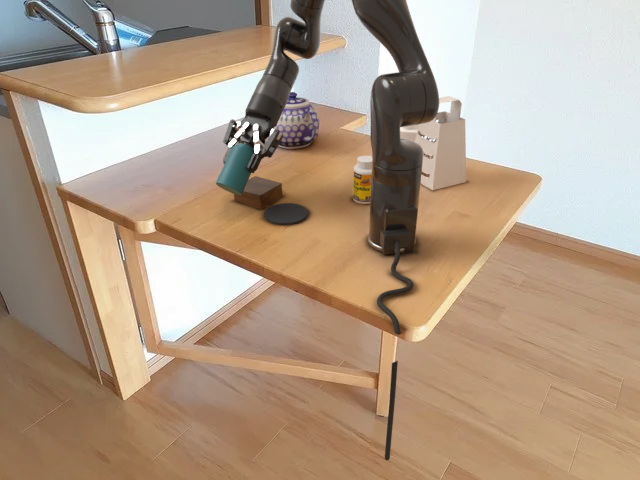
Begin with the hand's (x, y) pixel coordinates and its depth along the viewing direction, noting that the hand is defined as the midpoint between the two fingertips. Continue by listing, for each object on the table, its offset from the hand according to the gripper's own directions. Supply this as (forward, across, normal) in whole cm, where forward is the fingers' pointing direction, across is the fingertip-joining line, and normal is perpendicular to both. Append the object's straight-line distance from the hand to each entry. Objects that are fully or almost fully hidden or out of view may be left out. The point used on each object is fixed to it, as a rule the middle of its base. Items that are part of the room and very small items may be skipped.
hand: (238, 168), depth 114 cm
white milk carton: (-30, +15, +45) cm, 56 cm away
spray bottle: (+4, 0, +4) cm, 6 cm away
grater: (-21, +30, +35) cm, 51 cm away
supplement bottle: (-6, +21, +21) cm, 30 cm away
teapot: (-22, -16, +36) cm, 46 cm away
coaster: (+5, +10, +9) cm, 15 cm away
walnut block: (+3, 0, +11) cm, 12 cm away
